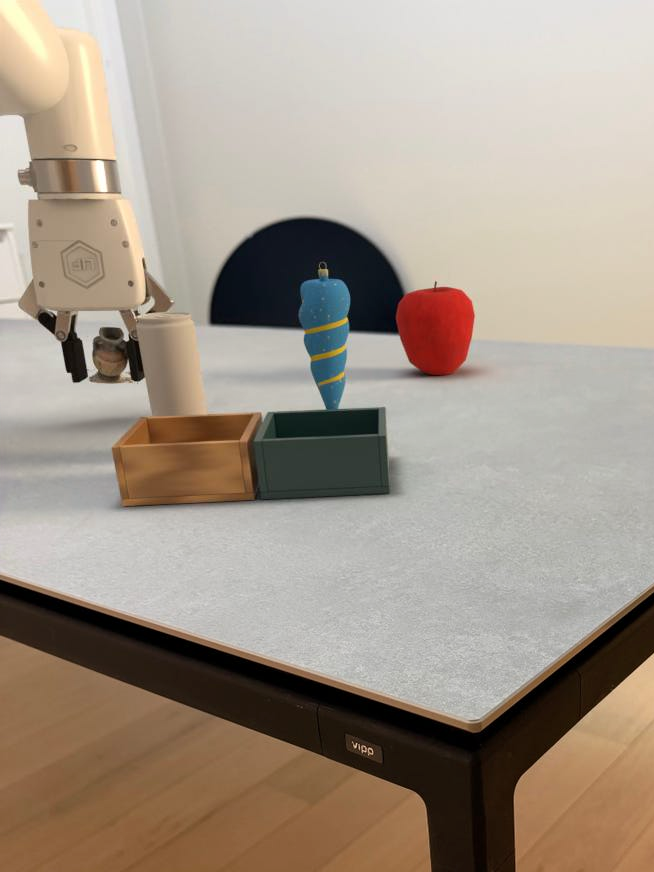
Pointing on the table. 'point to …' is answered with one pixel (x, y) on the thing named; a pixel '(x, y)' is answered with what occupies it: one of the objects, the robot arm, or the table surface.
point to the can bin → (323, 453)
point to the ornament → (326, 333)
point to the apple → (436, 328)
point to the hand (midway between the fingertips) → (109, 378)
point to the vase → (109, 356)
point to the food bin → (188, 459)
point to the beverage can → (171, 364)
